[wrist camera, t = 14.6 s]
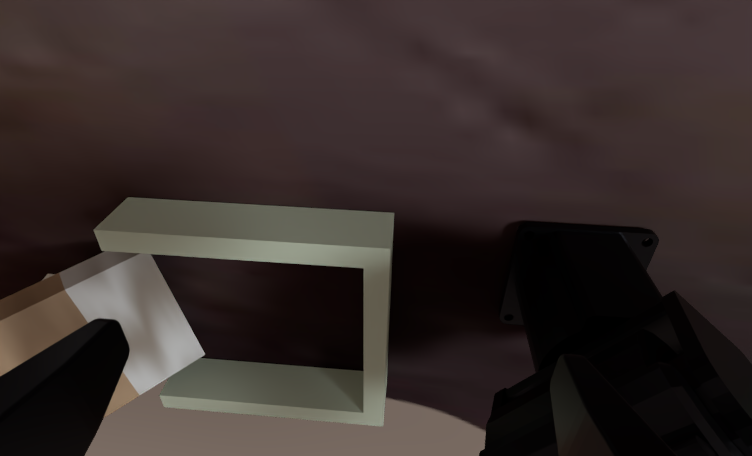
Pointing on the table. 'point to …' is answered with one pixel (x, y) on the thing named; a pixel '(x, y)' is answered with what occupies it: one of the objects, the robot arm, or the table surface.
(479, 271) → the table surface
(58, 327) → the two-tone wooden slab
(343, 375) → the green c-shaped bracket
